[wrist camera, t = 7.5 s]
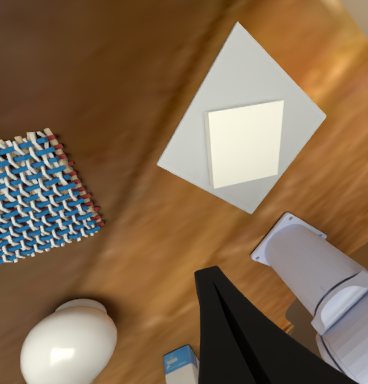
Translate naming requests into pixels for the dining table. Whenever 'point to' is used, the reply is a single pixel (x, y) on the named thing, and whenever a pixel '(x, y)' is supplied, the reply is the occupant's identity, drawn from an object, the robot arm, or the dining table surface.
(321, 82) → the dining table surface
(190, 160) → the felt pad
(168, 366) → the ink box
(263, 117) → the tile
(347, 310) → the robot arm
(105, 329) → the flower vase
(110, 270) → the dining table surface
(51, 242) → the woven mat
